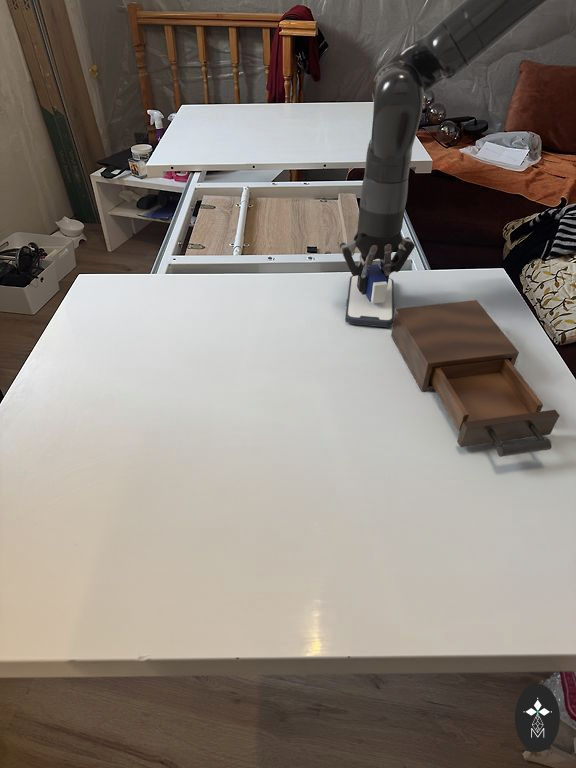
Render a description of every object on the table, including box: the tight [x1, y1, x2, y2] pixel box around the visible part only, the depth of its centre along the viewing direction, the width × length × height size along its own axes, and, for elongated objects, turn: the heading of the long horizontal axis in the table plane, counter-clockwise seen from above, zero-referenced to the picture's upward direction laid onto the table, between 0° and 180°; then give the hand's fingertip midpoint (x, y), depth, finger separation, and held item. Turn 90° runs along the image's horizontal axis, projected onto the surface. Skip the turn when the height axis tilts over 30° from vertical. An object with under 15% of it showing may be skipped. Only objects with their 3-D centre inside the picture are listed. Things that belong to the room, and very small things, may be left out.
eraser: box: [366, 263, 388, 303], centre depth 98 cm, size 3×7×4 cm, turn 11°
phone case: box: [344, 275, 395, 328], centre depth 101 cm, size 9×2×16 cm
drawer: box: [430, 358, 560, 458], centre depth 77 cm, size 18×14×4 cm
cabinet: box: [390, 299, 520, 392], centre depth 88 cm, size 15×15×6 cm
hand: (371, 291), depth 100 cm, fingers closed on eraser, 3 cm apart
